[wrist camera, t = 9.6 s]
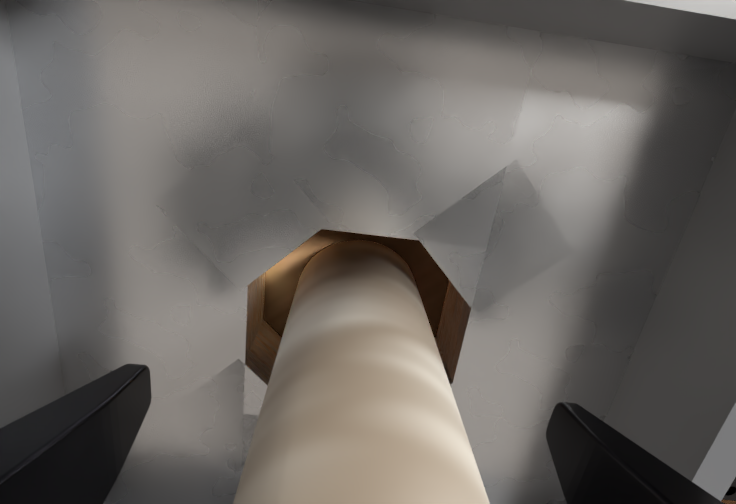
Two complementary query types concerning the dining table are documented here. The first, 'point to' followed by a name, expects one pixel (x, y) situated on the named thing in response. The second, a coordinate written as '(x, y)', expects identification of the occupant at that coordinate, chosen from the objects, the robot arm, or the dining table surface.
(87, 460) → the robot arm
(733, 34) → the open box
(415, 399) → the peg
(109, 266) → the bore plate
